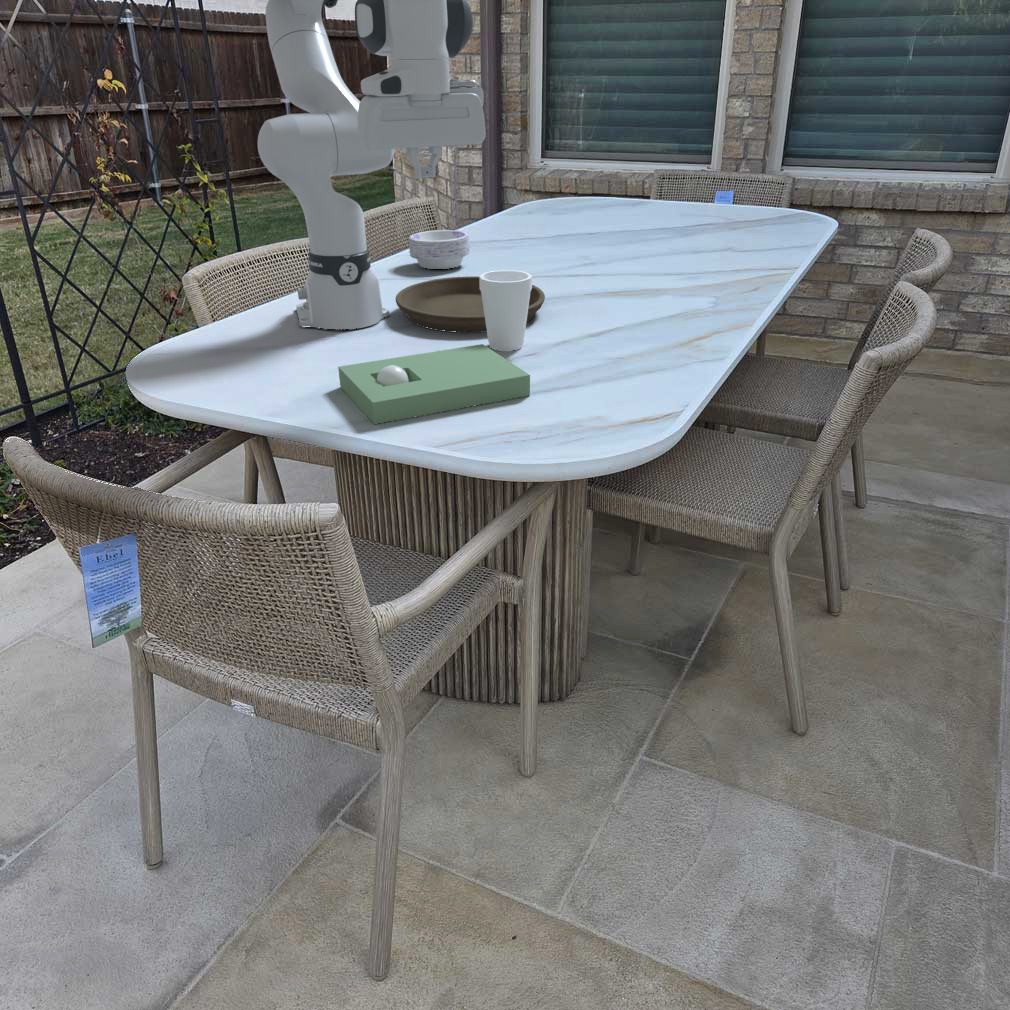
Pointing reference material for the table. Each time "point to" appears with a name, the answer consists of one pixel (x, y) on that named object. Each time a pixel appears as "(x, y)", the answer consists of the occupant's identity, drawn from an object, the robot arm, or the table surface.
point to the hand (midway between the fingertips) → (425, 177)
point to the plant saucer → (452, 304)
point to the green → (434, 383)
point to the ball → (392, 376)
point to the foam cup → (505, 307)
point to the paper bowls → (439, 248)
